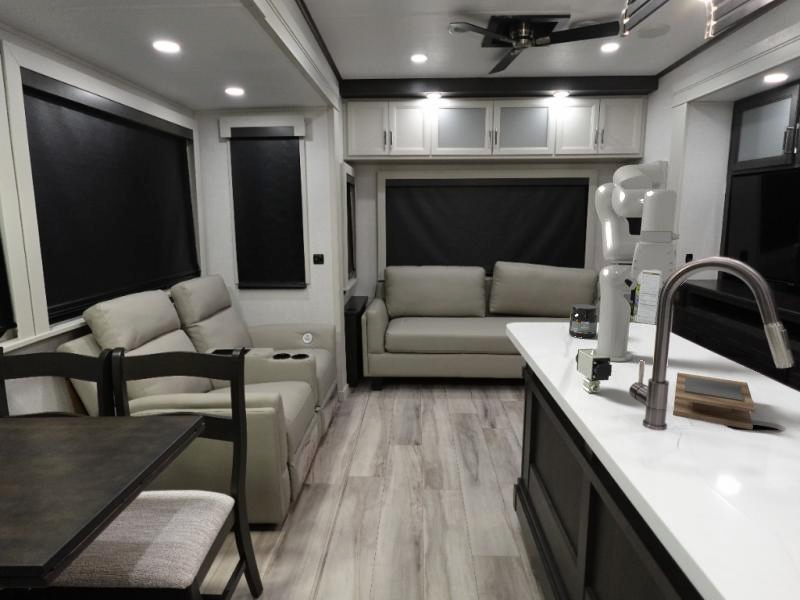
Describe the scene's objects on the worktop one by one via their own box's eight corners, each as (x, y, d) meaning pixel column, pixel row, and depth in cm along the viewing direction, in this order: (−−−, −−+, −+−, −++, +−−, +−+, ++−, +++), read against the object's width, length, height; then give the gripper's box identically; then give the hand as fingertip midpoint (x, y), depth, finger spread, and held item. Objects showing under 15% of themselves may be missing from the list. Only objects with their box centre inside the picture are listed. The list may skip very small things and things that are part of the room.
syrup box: (640, 318, 134) (645, 266, 131) (663, 321, 130) (668, 268, 127) (632, 321, 130) (637, 268, 127) (655, 325, 126) (661, 270, 123)
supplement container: (582, 331, 201) (584, 303, 198) (602, 337, 191) (604, 307, 189) (562, 334, 196) (564, 305, 194) (582, 340, 187) (584, 310, 185)
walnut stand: (675, 389, 136) (677, 371, 135) (744, 400, 128) (747, 381, 127) (672, 414, 119) (675, 394, 118) (752, 429, 111) (755, 407, 110)
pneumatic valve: (593, 399, 129) (596, 356, 127) (573, 383, 141) (575, 344, 138) (613, 398, 130) (616, 355, 128) (591, 383, 141) (594, 343, 139)
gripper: (695, 238, 124) (687, 306, 128) (621, 236, 133) (616, 299, 137) (695, 240, 118) (686, 311, 122) (618, 237, 127) (612, 304, 130)
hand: (649, 304), depth 129 cm, fingers closed on syrup box, 6 cm apart
